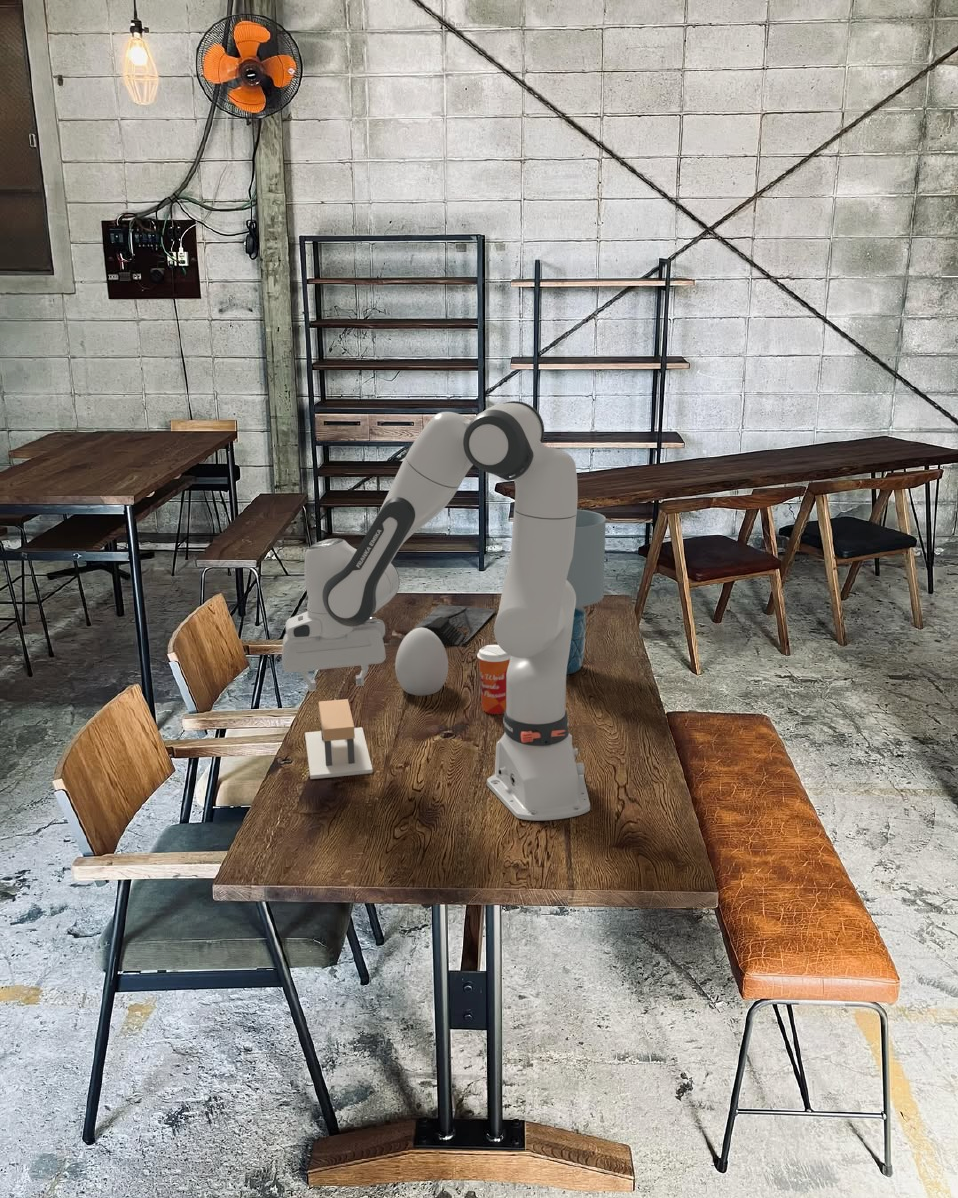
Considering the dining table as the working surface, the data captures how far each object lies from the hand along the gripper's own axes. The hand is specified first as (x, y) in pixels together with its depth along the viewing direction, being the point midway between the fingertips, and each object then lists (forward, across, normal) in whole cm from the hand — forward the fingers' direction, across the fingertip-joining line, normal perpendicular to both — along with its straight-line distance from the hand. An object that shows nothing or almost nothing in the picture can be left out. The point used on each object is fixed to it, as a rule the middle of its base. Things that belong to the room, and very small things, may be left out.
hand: (336, 687), depth 210 cm
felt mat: (+14, +1, 0) cm, 15 cm away
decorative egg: (+15, -21, -30) cm, 40 cm away
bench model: (+14, +1, 0) cm, 14 cm away
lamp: (+15, -56, -35) cm, 68 cm away
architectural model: (+15, -36, -73) cm, 83 cm away
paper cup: (+15, -35, -15) cm, 41 cm away
